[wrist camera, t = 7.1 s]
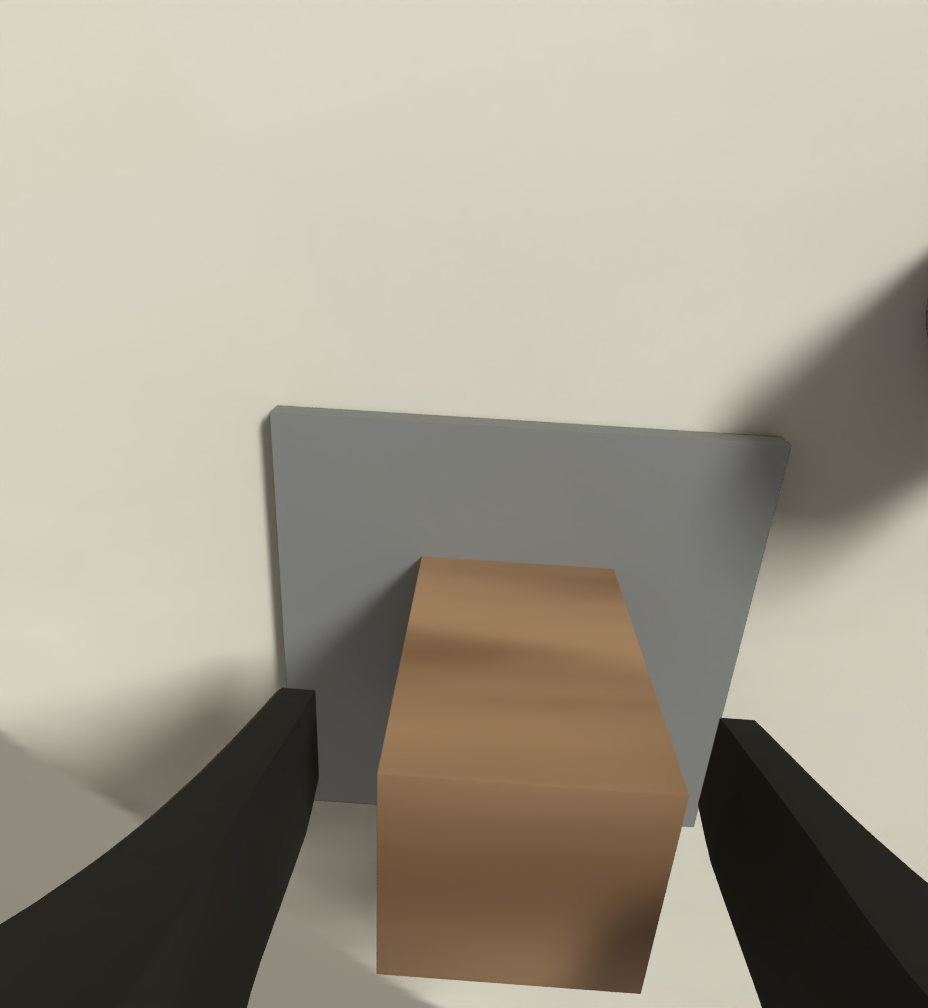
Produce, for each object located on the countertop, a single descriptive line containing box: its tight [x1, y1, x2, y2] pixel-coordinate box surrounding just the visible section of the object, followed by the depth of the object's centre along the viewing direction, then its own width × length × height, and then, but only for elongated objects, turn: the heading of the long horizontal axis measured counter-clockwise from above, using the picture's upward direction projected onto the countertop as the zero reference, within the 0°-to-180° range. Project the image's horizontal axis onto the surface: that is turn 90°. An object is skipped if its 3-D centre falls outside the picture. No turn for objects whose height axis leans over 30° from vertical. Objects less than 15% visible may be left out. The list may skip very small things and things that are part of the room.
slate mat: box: [270, 406, 791, 827], centre depth 15 cm, size 10×10×1 cm
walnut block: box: [377, 556, 689, 994], centre depth 12 cm, size 4×4×6 cm
